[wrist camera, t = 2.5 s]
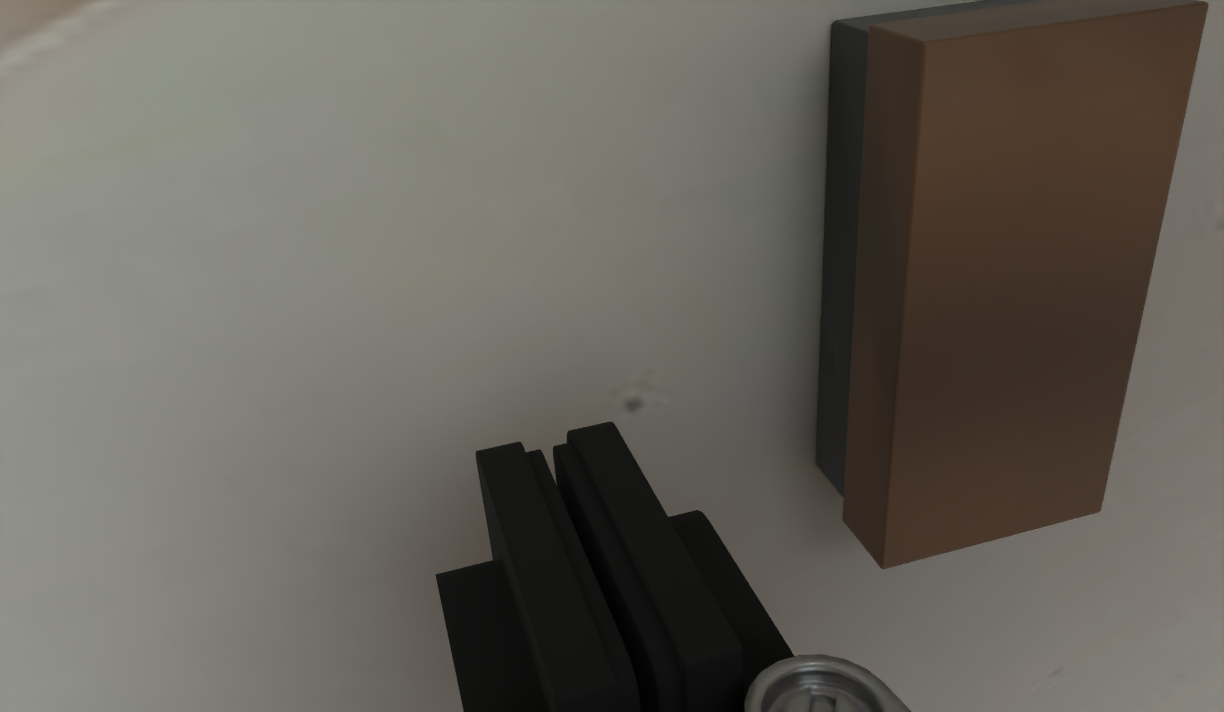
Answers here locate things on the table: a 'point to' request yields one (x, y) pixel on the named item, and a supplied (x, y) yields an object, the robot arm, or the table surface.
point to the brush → (990, 257)
